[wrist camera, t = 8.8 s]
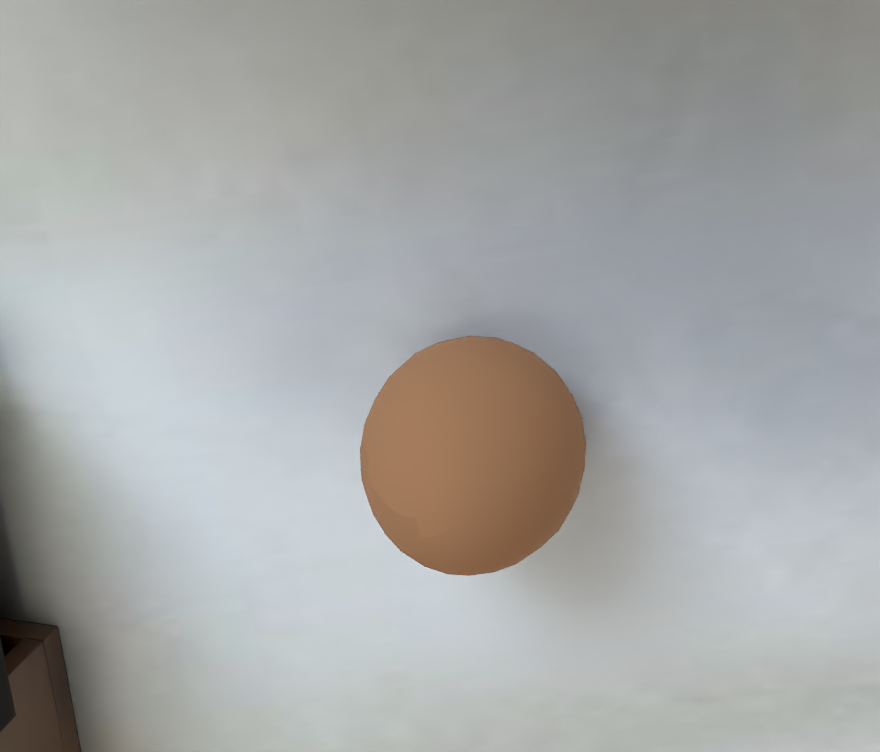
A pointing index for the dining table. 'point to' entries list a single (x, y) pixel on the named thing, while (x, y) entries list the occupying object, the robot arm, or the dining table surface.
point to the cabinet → (37, 690)
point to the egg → (472, 455)
